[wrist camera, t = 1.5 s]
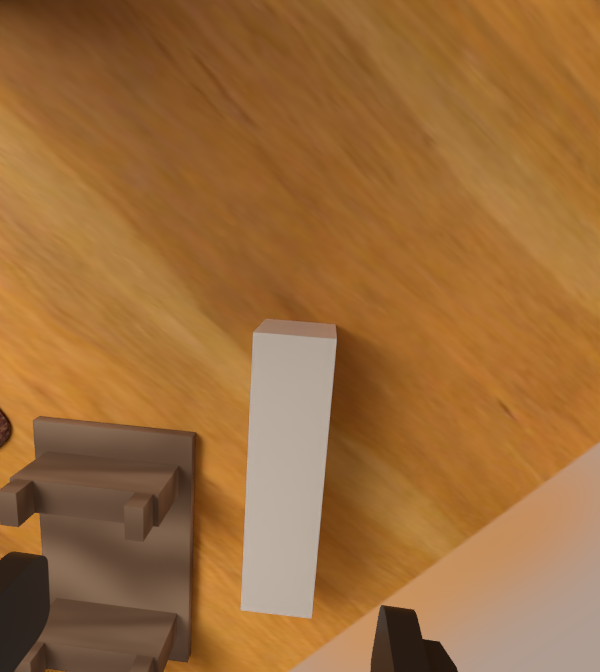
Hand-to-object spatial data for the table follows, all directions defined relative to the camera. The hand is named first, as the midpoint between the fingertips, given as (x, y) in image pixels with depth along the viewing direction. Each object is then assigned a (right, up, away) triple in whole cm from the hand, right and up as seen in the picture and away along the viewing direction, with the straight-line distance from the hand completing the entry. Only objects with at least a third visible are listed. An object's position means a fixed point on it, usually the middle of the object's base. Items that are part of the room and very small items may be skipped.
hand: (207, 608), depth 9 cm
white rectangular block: (+2, 0, +15) cm, 15 cm away
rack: (-10, -7, +17) cm, 21 cm away
